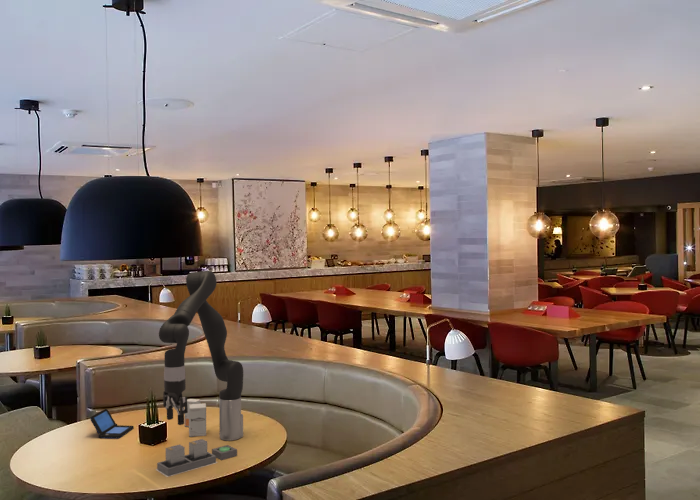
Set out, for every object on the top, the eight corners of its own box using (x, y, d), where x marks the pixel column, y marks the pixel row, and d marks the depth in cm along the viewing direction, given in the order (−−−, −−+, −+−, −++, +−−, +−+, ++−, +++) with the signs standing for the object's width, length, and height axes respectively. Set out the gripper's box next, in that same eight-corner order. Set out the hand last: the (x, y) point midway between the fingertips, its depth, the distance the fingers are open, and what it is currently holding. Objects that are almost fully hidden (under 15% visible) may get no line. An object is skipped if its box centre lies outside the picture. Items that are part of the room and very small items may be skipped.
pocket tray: (205, 458, 237) (205, 449, 237) (217, 465, 230) (217, 456, 230) (155, 472, 223) (155, 462, 223) (167, 479, 216) (167, 470, 216)
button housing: (227, 453, 243) (227, 444, 243) (237, 458, 237) (237, 449, 237) (212, 457, 238) (211, 449, 238) (221, 462, 233) (221, 453, 233)
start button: (226, 451, 240) (226, 446, 240) (231, 453, 238) (231, 448, 237) (217, 453, 238) (217, 448, 238) (222, 456, 235) (222, 451, 235)
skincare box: (184, 426, 278) (184, 400, 278) (189, 424, 282) (189, 398, 282) (195, 428, 276) (195, 401, 276) (200, 425, 280) (200, 399, 280)
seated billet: (202, 459, 233) (202, 438, 233) (207, 462, 230) (207, 441, 230) (189, 463, 230) (188, 441, 229) (194, 466, 227) (194, 444, 226)
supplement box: (189, 437, 263) (188, 408, 263) (188, 432, 270) (188, 403, 270) (206, 435, 265) (206, 407, 265) (205, 430, 272) (205, 402, 272)
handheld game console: (119, 439, 261) (119, 418, 261) (89, 439, 262) (89, 417, 262) (134, 428, 277) (134, 408, 276) (106, 427, 278) (106, 407, 277)
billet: (179, 465, 227) (179, 444, 227) (184, 468, 224) (184, 446, 224) (165, 469, 223) (165, 447, 223) (170, 472, 220) (170, 450, 220)
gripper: (156, 376, 226) (157, 419, 226) (174, 383, 215) (175, 428, 216) (175, 373, 231) (175, 415, 231) (193, 379, 220) (194, 424, 221)
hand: (175, 421), depth 223 cm, fingers open, 8 cm apart
